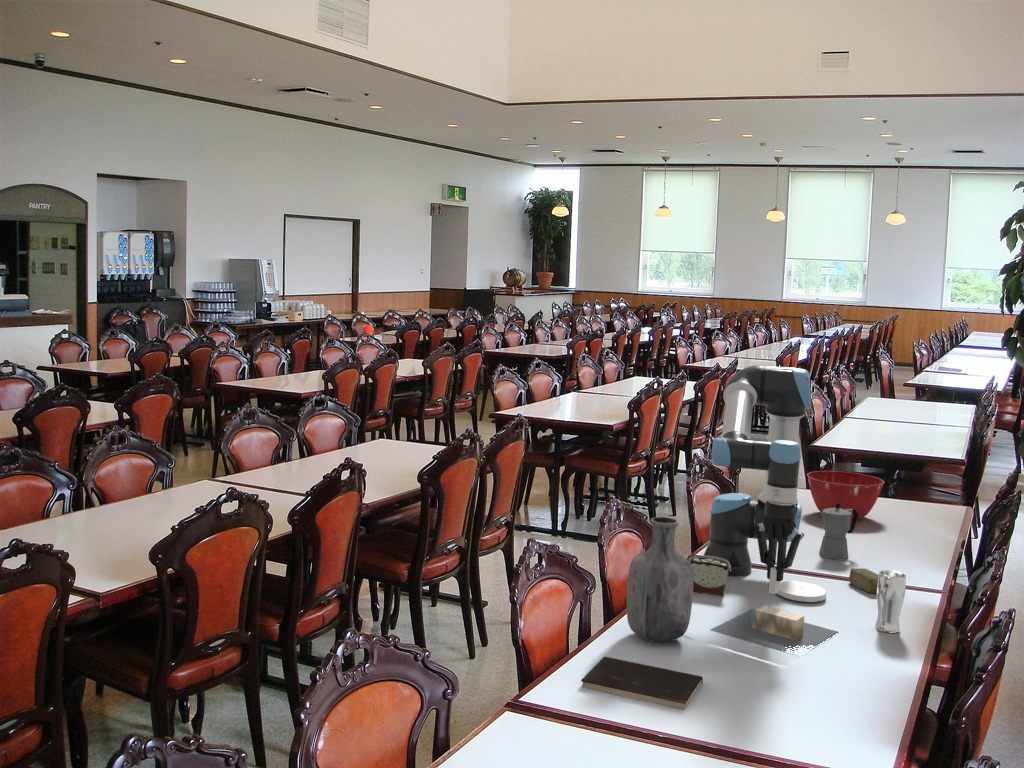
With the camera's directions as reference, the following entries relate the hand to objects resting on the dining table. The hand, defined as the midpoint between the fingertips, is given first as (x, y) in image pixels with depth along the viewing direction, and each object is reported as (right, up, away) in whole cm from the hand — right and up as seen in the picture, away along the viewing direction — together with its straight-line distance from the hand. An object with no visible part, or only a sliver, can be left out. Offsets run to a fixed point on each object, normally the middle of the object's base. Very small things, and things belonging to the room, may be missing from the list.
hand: (773, 592), depth 260 cm
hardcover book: (-38, -14, -36) cm, 55 cm away
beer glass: (+32, -11, +7) cm, 34 cm away
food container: (-10, -7, +31) cm, 34 cm away
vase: (-31, -10, -7) cm, 33 cm away
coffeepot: (+40, -4, +76) cm, 86 cm away
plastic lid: (+16, -8, +32) cm, 36 cm away
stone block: (+38, -8, +42) cm, 58 cm away
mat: (0, -10, +1) cm, 10 cm away
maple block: (-4, -7, +4) cm, 9 cm away
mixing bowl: (+60, +2, +133) cm, 146 cm away
